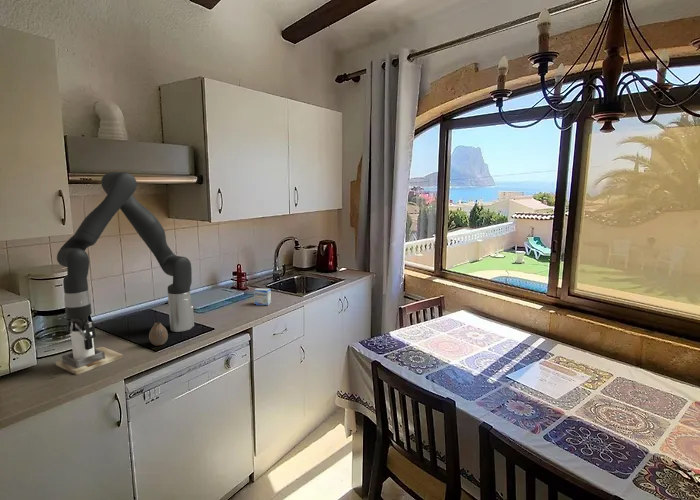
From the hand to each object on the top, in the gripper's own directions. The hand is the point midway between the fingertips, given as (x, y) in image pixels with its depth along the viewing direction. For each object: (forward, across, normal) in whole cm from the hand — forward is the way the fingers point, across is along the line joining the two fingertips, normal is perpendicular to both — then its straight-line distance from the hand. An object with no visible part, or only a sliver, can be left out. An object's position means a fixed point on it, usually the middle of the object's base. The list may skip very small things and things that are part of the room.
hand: (82, 346), depth 143 cm
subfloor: (+6, 0, -2) cm, 7 cm away
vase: (+7, -7, -25) cm, 27 cm away
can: (+5, 0, 0) cm, 5 cm away
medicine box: (+7, -7, -87) cm, 88 cm away
